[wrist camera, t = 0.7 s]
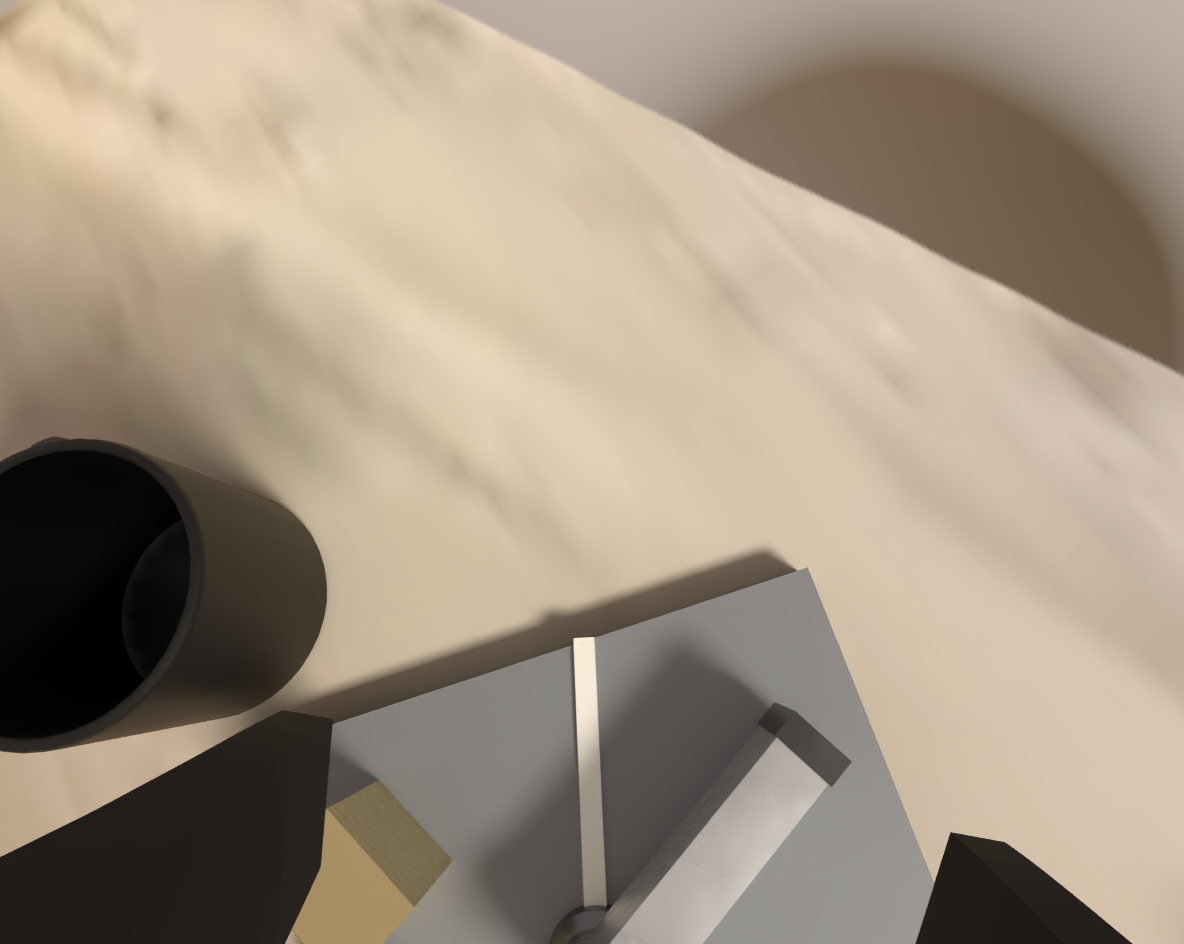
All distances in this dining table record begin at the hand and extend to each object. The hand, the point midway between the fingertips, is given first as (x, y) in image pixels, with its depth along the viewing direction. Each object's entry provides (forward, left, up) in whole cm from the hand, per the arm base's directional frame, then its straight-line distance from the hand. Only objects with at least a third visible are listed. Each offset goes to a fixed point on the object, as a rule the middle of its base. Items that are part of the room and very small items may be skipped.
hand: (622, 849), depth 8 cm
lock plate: (-6, +3, -20) cm, 21 cm away
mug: (+10, +16, -20) cm, 28 cm away
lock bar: (-5, 0, -17) cm, 18 cm away
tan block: (-2, +10, -18) cm, 21 cm away
